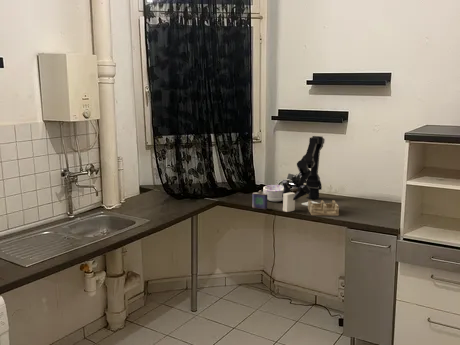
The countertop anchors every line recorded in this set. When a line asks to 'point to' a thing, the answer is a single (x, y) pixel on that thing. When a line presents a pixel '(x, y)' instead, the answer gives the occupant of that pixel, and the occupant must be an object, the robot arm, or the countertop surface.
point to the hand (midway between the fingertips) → (287, 198)
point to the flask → (259, 200)
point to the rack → (323, 208)
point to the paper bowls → (274, 192)
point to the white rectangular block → (288, 202)
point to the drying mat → (307, 203)
